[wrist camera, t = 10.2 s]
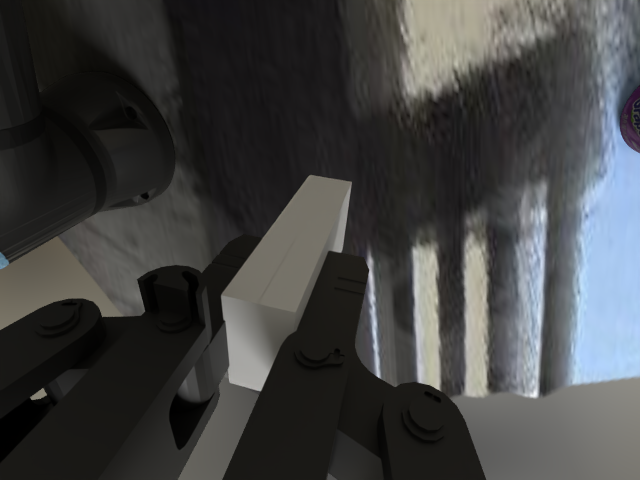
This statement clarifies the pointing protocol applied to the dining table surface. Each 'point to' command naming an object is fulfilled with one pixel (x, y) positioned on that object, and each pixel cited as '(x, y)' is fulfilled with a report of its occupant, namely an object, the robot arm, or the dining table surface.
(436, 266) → the dining table surface
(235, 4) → the dining table surface
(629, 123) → the beverage can
